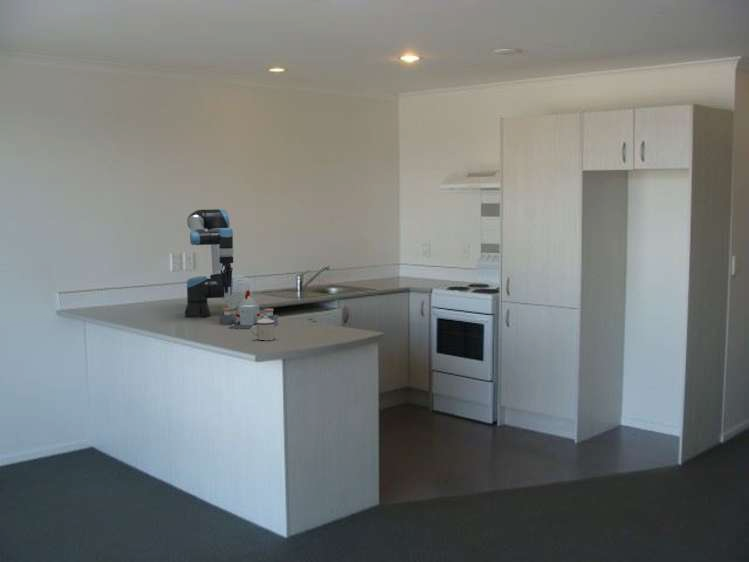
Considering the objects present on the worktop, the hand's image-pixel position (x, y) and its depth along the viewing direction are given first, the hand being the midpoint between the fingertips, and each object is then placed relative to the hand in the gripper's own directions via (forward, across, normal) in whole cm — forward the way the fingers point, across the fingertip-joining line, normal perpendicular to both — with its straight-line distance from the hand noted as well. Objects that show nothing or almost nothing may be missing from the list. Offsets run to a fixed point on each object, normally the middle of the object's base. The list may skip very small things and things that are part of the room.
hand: (227, 298), depth 450 cm
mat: (+14, -11, -12) cm, 22 cm away
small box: (+15, 0, -12) cm, 19 cm away
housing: (+14, 0, -12) cm, 19 cm away
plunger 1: (+11, 0, 0) cm, 11 cm away
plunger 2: (+11, 0, -24) cm, 26 cm away
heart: (+14, +57, +18) cm, 62 cm away
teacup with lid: (+15, -45, -35) cm, 59 cm away
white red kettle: (+14, +32, -1) cm, 35 cm away
